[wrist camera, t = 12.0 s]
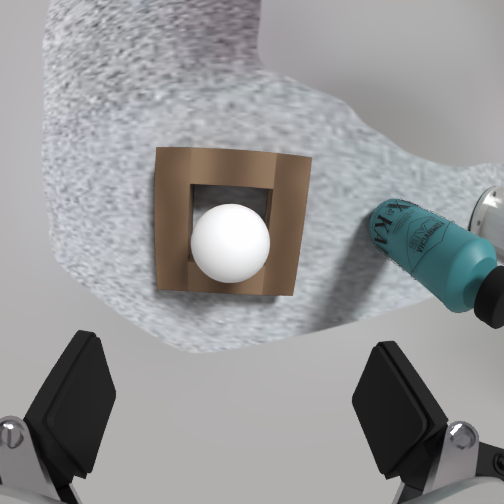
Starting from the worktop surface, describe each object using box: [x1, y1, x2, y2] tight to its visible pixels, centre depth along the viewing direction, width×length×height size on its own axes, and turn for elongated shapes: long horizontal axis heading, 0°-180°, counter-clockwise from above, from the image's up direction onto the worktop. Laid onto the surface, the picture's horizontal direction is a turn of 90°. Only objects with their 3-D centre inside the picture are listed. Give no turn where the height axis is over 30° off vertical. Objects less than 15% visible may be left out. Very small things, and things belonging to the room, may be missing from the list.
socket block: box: [155, 147, 312, 296], centre depth 28 cm, size 14×14×4 cm
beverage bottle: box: [369, 198, 504, 329], centre depth 22 cm, size 6×7×20 cm
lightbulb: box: [191, 204, 270, 283], centre depth 25 cm, size 6×6×11 cm
